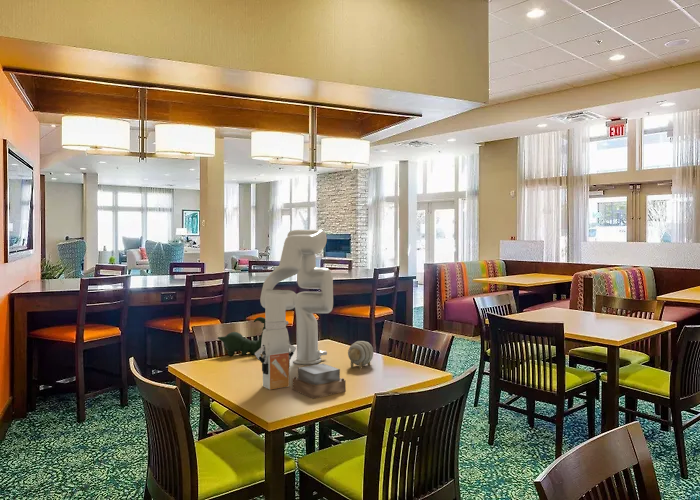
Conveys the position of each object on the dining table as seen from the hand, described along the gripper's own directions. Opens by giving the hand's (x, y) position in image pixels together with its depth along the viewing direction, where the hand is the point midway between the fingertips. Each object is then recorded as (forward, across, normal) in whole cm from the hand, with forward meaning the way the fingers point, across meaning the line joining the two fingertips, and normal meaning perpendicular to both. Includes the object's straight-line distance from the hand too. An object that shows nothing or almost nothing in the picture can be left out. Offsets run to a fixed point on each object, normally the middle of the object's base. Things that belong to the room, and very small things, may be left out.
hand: (276, 371), depth 193 cm
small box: (+6, 0, 0) cm, 6 cm away
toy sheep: (+6, -44, -4) cm, 45 cm away
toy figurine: (+6, -14, -57) cm, 59 cm away
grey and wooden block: (+6, -10, +14) cm, 18 cm away
